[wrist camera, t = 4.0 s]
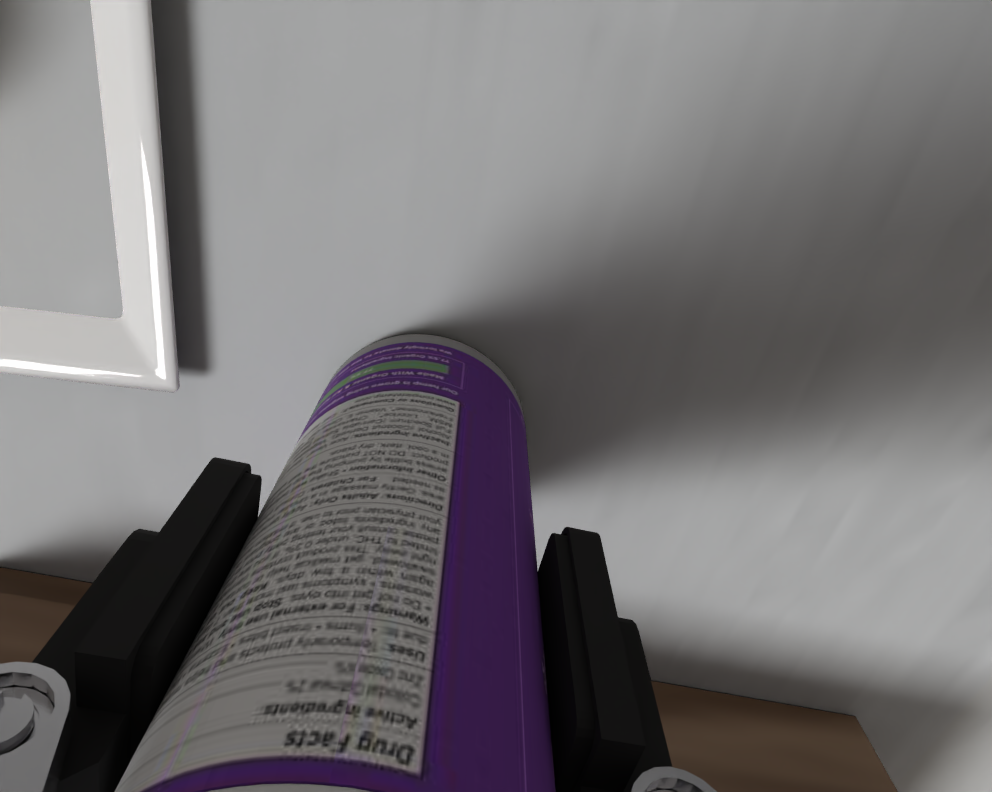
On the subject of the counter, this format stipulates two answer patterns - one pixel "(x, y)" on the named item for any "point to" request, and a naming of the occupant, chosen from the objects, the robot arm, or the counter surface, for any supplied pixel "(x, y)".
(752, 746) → the walled tray
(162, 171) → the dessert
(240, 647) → the container
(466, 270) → the counter surface
